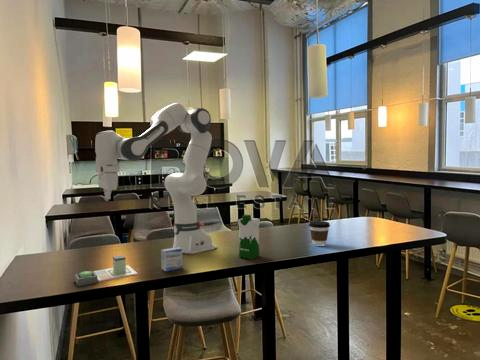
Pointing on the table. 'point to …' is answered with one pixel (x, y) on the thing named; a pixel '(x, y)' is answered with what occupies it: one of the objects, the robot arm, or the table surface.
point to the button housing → (86, 279)
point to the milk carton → (248, 237)
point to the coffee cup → (319, 232)
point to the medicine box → (171, 259)
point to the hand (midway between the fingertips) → (107, 198)
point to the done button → (85, 274)
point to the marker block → (119, 264)
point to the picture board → (114, 274)
